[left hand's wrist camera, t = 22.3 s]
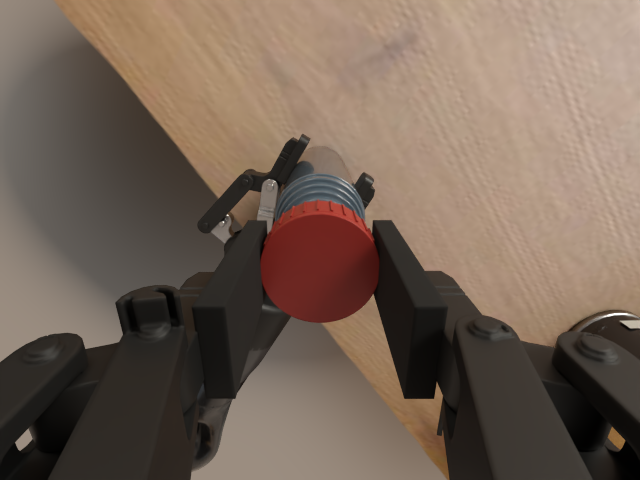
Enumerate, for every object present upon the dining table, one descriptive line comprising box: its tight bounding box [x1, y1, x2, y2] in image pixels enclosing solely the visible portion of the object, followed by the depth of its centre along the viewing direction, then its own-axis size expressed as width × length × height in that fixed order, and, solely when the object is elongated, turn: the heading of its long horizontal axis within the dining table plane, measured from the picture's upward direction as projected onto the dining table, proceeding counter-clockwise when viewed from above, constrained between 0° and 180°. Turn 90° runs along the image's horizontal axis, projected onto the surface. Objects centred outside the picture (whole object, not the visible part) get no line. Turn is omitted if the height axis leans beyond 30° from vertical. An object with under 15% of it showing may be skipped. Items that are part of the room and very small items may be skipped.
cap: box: [260, 200, 379, 323], centre depth 13 cm, size 4×4×2 cm
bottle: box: [275, 146, 365, 222], centre depth 23 cm, size 5×5×21 cm
